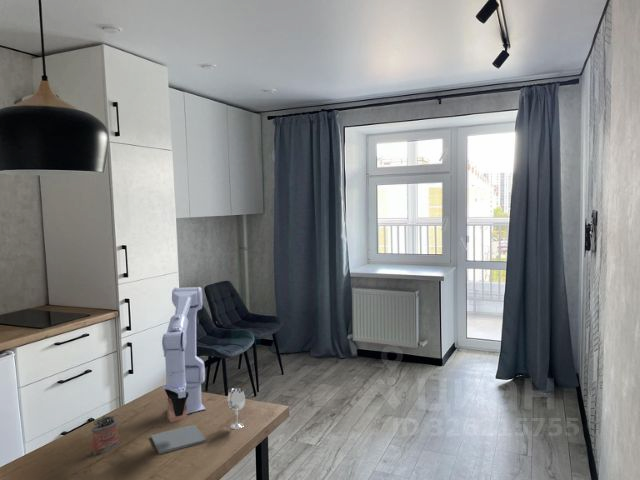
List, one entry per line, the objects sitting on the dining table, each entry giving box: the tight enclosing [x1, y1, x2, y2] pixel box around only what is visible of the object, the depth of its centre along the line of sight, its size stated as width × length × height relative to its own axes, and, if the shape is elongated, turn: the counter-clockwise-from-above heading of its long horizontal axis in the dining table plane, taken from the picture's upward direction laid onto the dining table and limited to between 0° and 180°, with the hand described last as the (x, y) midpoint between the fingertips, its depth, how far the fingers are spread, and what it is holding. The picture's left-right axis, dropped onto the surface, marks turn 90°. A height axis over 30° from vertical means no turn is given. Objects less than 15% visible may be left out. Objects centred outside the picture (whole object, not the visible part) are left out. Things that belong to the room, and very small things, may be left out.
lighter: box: [91, 414, 120, 456], centre depth 146 cm, size 8×3×10 cm, turn 145°
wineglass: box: [226, 387, 246, 430], centre depth 159 cm, size 6×6×12 cm
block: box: [166, 397, 188, 423], centre depth 150 cm, size 4×5×6 cm
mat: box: [150, 424, 207, 455], centre depth 151 cm, size 12×14×1 cm
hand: (177, 412), depth 150 cm, fingers closed on block, 4 cm apart
